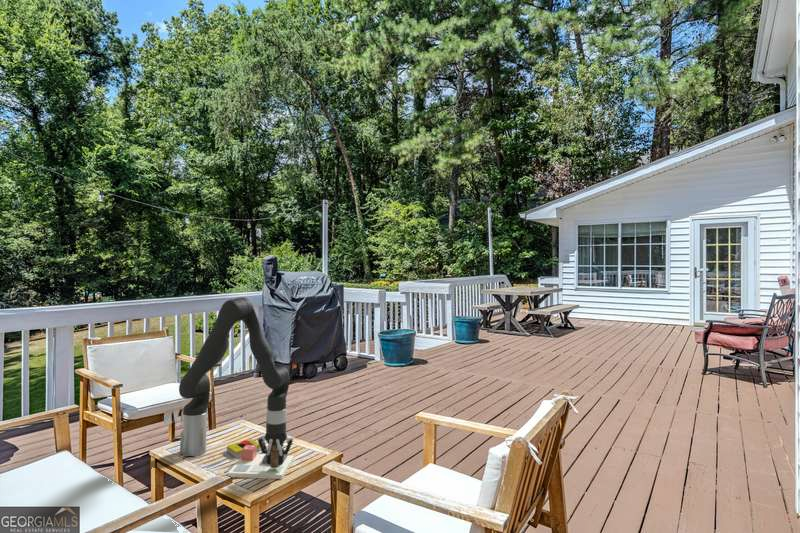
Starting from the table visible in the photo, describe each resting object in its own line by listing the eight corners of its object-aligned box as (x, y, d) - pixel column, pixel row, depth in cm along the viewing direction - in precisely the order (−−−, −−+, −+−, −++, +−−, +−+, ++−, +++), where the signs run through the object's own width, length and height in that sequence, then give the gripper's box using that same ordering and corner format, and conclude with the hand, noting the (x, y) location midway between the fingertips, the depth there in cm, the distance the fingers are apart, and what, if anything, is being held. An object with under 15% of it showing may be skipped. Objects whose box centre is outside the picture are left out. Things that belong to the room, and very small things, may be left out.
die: (241, 460, 178) (241, 449, 178) (245, 455, 182) (246, 444, 182) (252, 460, 178) (252, 449, 178) (256, 456, 182) (256, 445, 182)
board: (227, 476, 167) (227, 467, 167) (244, 457, 184) (244, 448, 184) (282, 478, 166) (282, 469, 166) (293, 459, 184) (294, 450, 183)
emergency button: (264, 441, 192) (231, 450, 181) (264, 451, 192) (230, 461, 181) (254, 434, 198) (221, 444, 187) (253, 444, 198) (221, 454, 187)
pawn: (268, 467, 169) (269, 444, 169) (272, 463, 172) (272, 441, 172) (278, 468, 169) (278, 445, 169) (281, 463, 172) (281, 441, 172)
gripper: (254, 422, 167) (253, 468, 167) (291, 424, 167) (290, 469, 167) (261, 416, 174) (260, 459, 174) (296, 417, 174) (295, 460, 174)
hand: (275, 464), depth 171 cm, fingers closed on pawn, 3 cm apart
